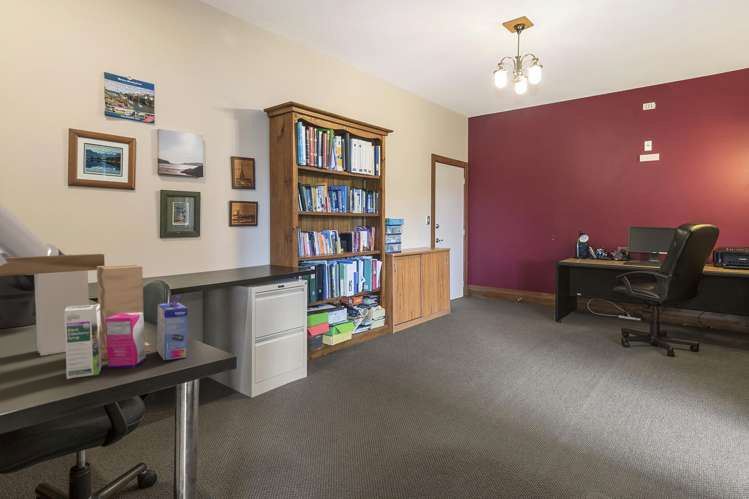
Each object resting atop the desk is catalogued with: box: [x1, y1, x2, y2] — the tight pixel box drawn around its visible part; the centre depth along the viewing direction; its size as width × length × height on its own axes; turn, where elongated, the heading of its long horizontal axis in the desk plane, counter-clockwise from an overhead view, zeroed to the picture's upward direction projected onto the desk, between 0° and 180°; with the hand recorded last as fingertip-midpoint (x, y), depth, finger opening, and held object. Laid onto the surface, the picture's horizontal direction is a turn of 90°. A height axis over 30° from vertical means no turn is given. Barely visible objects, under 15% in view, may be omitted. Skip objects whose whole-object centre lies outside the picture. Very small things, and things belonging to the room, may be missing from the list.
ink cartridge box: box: [156, 294, 189, 361], centre depth 100 cm, size 10×6×14 cm, turn 37°
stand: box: [96, 263, 151, 361], centre depth 103 cm, size 10×10×22 cm
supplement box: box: [105, 312, 147, 369], centre depth 93 cm, size 6×6×12 cm
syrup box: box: [64, 303, 103, 380], centre depth 87 cm, size 6×6×14 cm
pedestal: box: [34, 271, 90, 357], centre depth 104 cm, size 6×10×20 cm, turn 136°
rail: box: [0, 253, 106, 276], centre depth 102 cm, size 4×22×4 cm, turn 136°
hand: (0, 255), depth 95 cm, fingers open, 13 cm apart
